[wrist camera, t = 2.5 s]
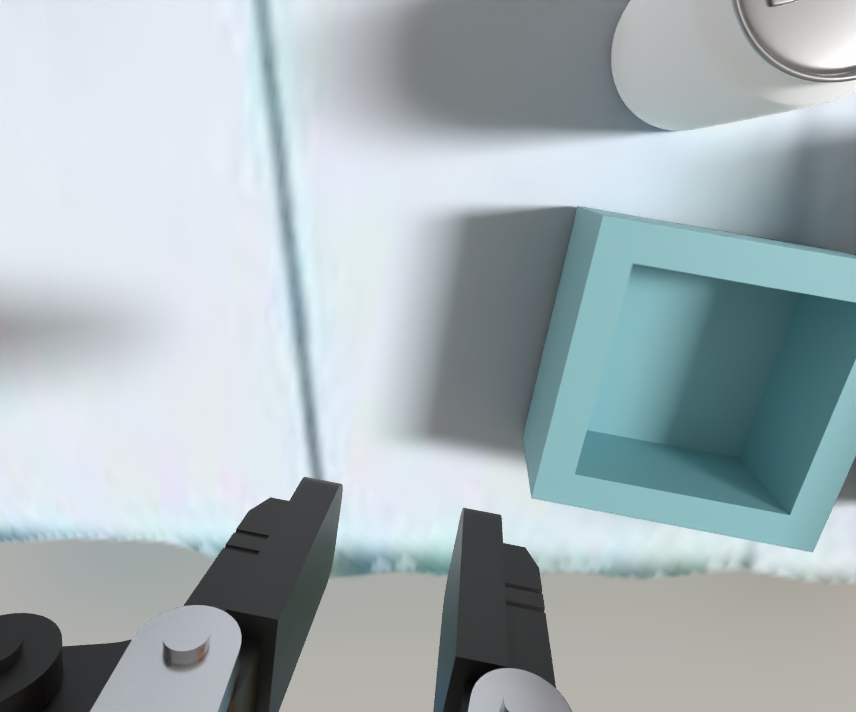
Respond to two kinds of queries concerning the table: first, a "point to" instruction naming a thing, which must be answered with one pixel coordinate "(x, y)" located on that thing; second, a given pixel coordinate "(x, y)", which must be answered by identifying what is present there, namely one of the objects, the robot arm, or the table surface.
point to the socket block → (697, 380)
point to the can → (731, 58)
